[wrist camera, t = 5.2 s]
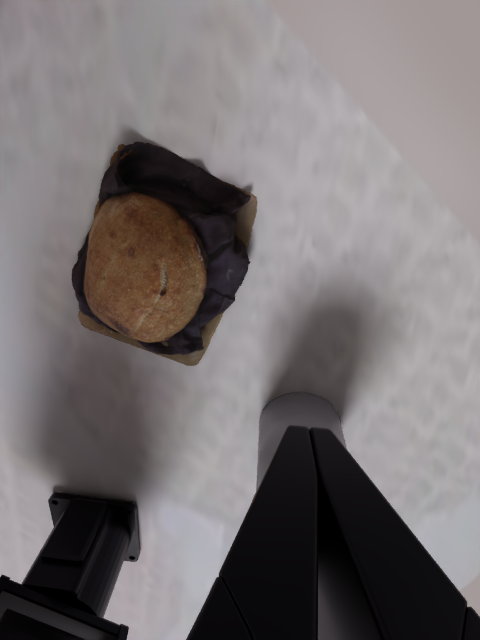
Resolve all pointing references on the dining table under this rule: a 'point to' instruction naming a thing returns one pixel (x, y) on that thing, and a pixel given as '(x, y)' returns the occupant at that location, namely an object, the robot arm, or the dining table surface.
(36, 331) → the dining table surface
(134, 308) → the bread roll
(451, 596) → the robot arm
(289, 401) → the grey sugar pot
